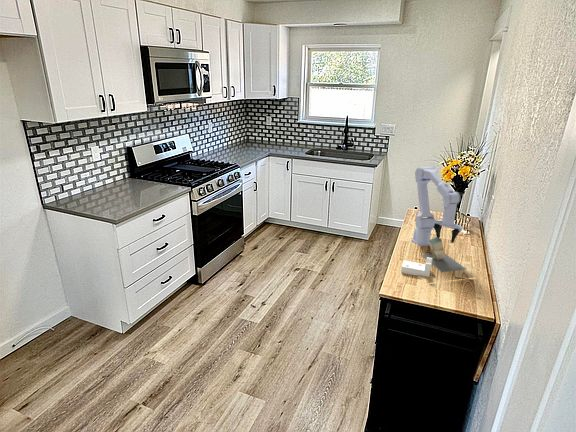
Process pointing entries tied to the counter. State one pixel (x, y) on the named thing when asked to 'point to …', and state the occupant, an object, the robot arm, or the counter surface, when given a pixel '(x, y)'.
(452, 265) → the mat
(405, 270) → the bracket
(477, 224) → the counter surface
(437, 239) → the tall block
